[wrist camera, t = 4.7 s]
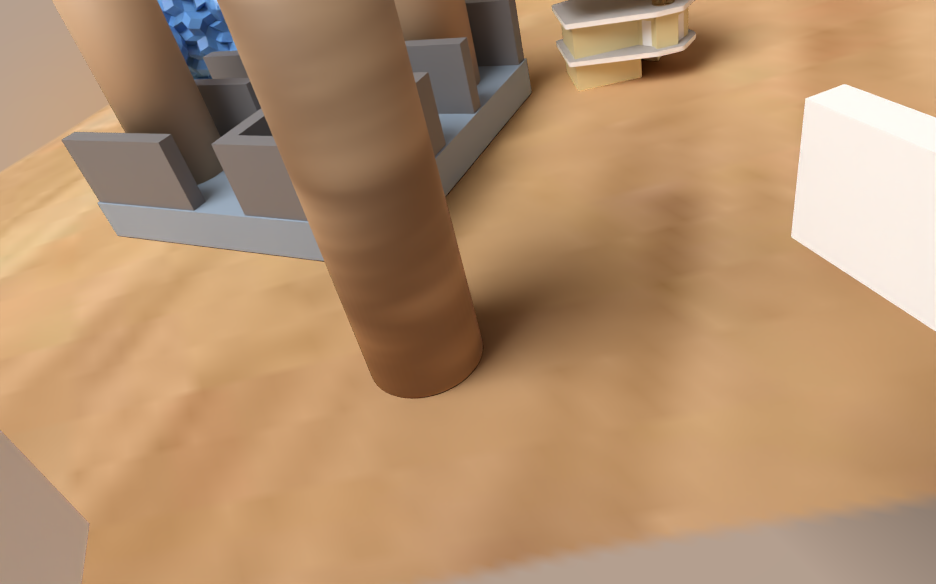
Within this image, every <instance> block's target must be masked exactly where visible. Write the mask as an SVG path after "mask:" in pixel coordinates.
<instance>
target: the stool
mask: <svg viewBox="0 0 936 584" xmlns="http://www.w3.org/2000/svg"><path fill="white" fill-rule="evenodd" d="M52 1H53V3H54V5H55V7H56V9H57V10H58V12H59V14H60V16H61V18H62V19H63V21H64V23H65V25H66V27H67V28H68V30H69V32H70V34H71V36H72V37H73V39H74V41H75V43H76V45H77V46H78V48H79V50H80V52H81V53H82V55H83V57H84V59H85V61H86V63H87V64H88V66H89V68H90V70H91V72H92V73H93V75H94V77H95V79H96V80H97V82H98V84H99V86H100V88H101V90H102V91H103V93H104V95H105V97H106V98H107V100H108V102H109V104H110V106H111V108H112V109H113V111H114V113H115V115H116V117H117V118H118V120H119V122H120V124H121V126H122V128H123V129H124V131H125V133H94V132H74V133H72V134H71V135H69V136H67V137H66V138H64V139H62V142H63V143H64V145H65V147H66V148H67V150H68V151H69V153H70V155H71V156H72V158H73V159H74V161H75V163H76V164H77V166H78V167H79V169H80V171H81V172H82V174H83V175H84V177H85V179H86V180H87V182H88V184H89V185H90V187H91V188H92V190H93V192H94V193H95V195H96V196H97V198H98V200H99V201H100V202H98V205H99V207H100V208H101V210H102V211H103V213H104V215H105V216H106V218H107V219H108V221H109V223H110V224H111V226H112V227H113V229H114V231H115V232H116V234H117V235H118V236H125V237H133V238H142V239H150V240H158V241H166V242H174V243H182V244H190V245H198V246H206V247H214V248H222V249H231V250H239V251H247V252H255V253H263V254H271V255H279V256H287V257H295V258H303V259H311V260H320V261H324V259H323V257H322V254H321V252H320V249H319V247H318V245H317V242H316V240H315V237H314V235H313V232H312V230H311V228H310V225H309V223H308V220H307V218H306V215H305V213H304V211H303V208H302V206H301V203H300V201H299V198H298V196H297V194H296V191H295V189H294V186H293V184H292V181H291V179H290V177H289V174H288V172H287V169H286V167H285V164H284V162H283V160H282V157H281V155H280V152H279V150H278V147H277V145H276V143H275V140H274V138H273V135H272V133H271V130H270V128H269V126H268V123H267V121H266V118H265V116H264V114H263V111H262V109H261V106H260V104H259V101H258V99H257V97H256V94H255V92H254V89H253V87H252V84H251V82H250V80H249V77H248V75H247V72H246V70H245V67H244V65H243V63H242V60H241V58H240V55H239V53H238V50H235V51H218V52H211V53H209V54H207V55H206V56H204V57H203V59H204V61H205V63H206V66H207V68H208V70H209V72H210V75H211V77H212V79H193V76H192V74H191V72H190V70H189V68H188V66H187V63H186V61H185V59H184V57H183V55H182V53H181V51H180V48H179V46H178V44H177V42H176V40H175V38H174V35H173V33H172V31H171V29H170V27H169V25H168V23H167V20H166V18H165V16H164V14H163V12H162V10H161V7H160V5H159V3H158V1H157V0H52ZM394 2H395V6H396V9H397V13H398V17H399V21H400V25H401V29H402V33H403V36H404V40H405V44H406V48H407V52H408V56H409V60H410V63H411V67H412V71H413V75H414V79H415V83H416V87H417V90H418V94H419V98H420V102H421V106H422V110H423V113H424V117H425V121H426V125H427V129H428V133H429V137H430V140H431V144H432V148H433V152H434V156H435V160H436V164H437V167H438V171H439V175H440V179H441V183H442V187H443V191H444V194H445V196H446V195H447V194H448V193H449V192H450V190H451V189H452V188H453V187H454V186H455V184H456V183H457V182H458V181H459V180H460V178H461V177H462V176H463V175H464V173H465V172H466V171H467V170H468V169H469V167H470V166H471V165H472V164H473V163H474V161H475V160H476V159H477V158H478V157H479V155H480V154H481V153H482V152H483V151H484V149H485V148H486V147H487V146H488V144H489V143H490V142H491V141H492V140H493V138H494V137H495V136H496V135H497V134H498V132H499V131H500V130H501V129H502V128H503V126H504V125H505V124H506V123H507V122H508V120H509V119H510V118H511V117H512V115H513V114H514V113H515V112H516V111H517V109H518V108H519V107H520V106H521V105H522V103H523V102H524V101H525V100H526V99H527V97H528V96H529V95H530V94H531V93H532V91H531V85H530V78H529V72H528V65H527V59H524V55H523V48H522V42H521V36H520V29H519V23H518V16H517V10H516V3H515V0H394Z"/></svg>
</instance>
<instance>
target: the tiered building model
mask: <svg viewBox="0 0 936 584" xmlns="http://www.w3.org/2000/svg"><path fill="white" fill-rule="evenodd" d="M694 1H695V0H568V1H565V2H561V3H558V4H554V5H552V11H553V12H554V14H555V15H556V17H557V18H558V20H559V21H560V23H561V27H562V35H563V39H561V40H558V41H556V45H557V47H558V49H559V51H560V52H561V54H562V56H563V57H564V59H565V61H566V70H567V73H568V75H569V77H570V78H571V80H572V82H573V83H574V85H575V87H576V88H577V90H578V92H580V91H584V90H589V89H593V88H597V87H602V86H606V85H610V84H615V83H619V82H623V81H627V80H632V79H636V78H640V77H642V68H641V59H642V58H643V60H651V61H658V60H659V59H660V56H663V55H667V54H671V53H676V52H680V51H684V50H685V49H686V48H687V47H688V46H689V45H690V44H691V43H692V42H693V41H694V40H695V39H696V33H695V32H694V31H692V30H689V29H688V6H689V5H691V4H692V3H693V2H694ZM664 4H665V5H664Z"/></svg>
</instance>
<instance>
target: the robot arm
mask: <svg viewBox="0 0 936 584" xmlns="http://www.w3.org/2000/svg"><path fill="white" fill-rule="evenodd" d="M791 237H792V238H793V239H795V240H796V241H798V242H799V243H801V244H803V245H804V246H806V247H807V248H809V249H810V250H812V251H813V252H815V253H816V254H818V255H819V256H821V257H822V258H824V259H826V260H827V261H829V262H830V263H832V264H833V265H835V266H836V267H838V268H839V269H841V270H842V271H844V272H845V273H847V274H849V275H850V276H852V277H853V278H855V279H856V280H858V281H859V282H861V283H862V284H864V285H865V286H867V287H868V288H870V289H872V290H873V291H875V292H876V293H878V294H879V295H881V296H882V297H884V298H885V299H887V300H888V301H890V302H891V303H893V304H895V305H896V306H898V307H899V308H901V309H902V310H904V311H905V312H907V313H908V314H910V315H911V316H913V317H914V318H916V319H918V320H919V321H921V322H922V323H924V324H925V325H927V326H928V327H930V328H931V329H933V330H934V331H936V118H935V117H933V116H930V115H927V114H925V113H922V112H919V111H916V110H914V109H911V108H908V107H906V106H903V105H900V104H897V103H895V102H892V101H889V100H887V99H884V98H881V97H879V96H876V95H873V94H870V93H868V92H865V91H862V90H860V89H857V88H854V87H851V86H849V85H846V84H843V85H841V86H838V87H835V88H833V89H830V90H827V91H825V92H822V93H819V94H817V95H814V96H811V97H809V98H806V99H805V108H804V118H803V128H802V137H801V147H800V156H799V166H798V176H797V185H796V195H795V205H794V214H793V224H792V234H791ZM88 531H89V523H88V522H87V521H86V519H85V518H84V517H83V516H82V515H81V514H80V513H79V512H78V511H77V510H76V509H75V508H74V507H73V506H72V505H71V504H70V503H69V502H68V501H67V500H66V498H65V497H64V496H63V495H62V494H61V493H60V492H59V491H58V490H57V489H56V488H55V487H54V486H53V485H52V484H51V483H50V482H49V481H48V480H47V479H46V477H45V476H44V475H43V474H42V473H41V472H40V471H39V470H38V469H37V468H36V467H35V466H34V465H33V464H32V463H31V462H30V461H29V460H28V459H27V458H26V456H25V455H24V454H23V453H22V452H21V451H20V450H19V449H18V448H17V447H16V446H15V445H14V444H13V443H12V442H11V441H10V440H9V439H8V438H7V437H6V435H5V434H4V433H3V432H2V431H1V430H0V584H82V576H83V569H84V561H85V554H86V546H87V539H88Z"/></svg>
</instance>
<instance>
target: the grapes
mask: <svg viewBox="0 0 936 584" xmlns="http://www.w3.org/2000/svg"><path fill="white" fill-rule="evenodd" d="M157 1H158V3H159V5H160V7H161V10H162V12H163V14H164V16H165V18H166V20H167V23H168V25H169V27H170V29H171V31H172V33H173V35H174V38H175V40H176V42H177V44H178V46H179V48H180V51H181V53H182V55H183V57H184V59H185V61H186V63H187V66H188V68H189V70H190V72H191V74H192V76H193V79H212V77H211V75H210V72H209V70H208V68H207V66H206V63H205V61H204V59H203V57H204V56H206V55H207V54H209V53H211V52H218V51H235V50H237V48H236V46H235V43H234V41H233V38H232V36H231V33H230V31H229V29H228V26H227V24H226V21H225V19H224V16H223V14H222V12H221V9H220V7H219V4H218V2H217V0H157Z"/></svg>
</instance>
